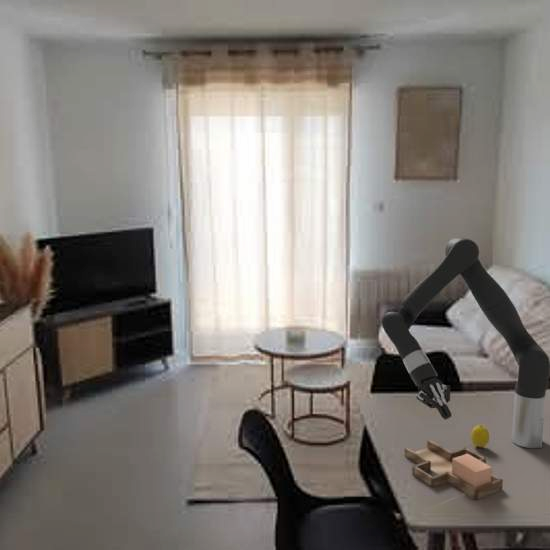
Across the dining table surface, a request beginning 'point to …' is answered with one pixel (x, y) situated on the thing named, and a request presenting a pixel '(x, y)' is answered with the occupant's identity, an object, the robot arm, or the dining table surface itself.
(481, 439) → the lemon
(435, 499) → the dining table surface
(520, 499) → the dining table surface
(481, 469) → the block
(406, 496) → the dining table surface
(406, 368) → the robot arm
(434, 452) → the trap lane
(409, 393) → the dining table surface
